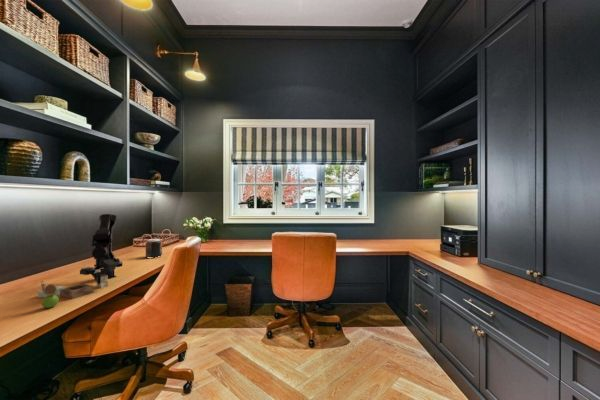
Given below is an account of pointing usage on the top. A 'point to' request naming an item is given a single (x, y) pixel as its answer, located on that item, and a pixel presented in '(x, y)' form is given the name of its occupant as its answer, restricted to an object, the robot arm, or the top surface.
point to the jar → (153, 248)
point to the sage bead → (41, 294)
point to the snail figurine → (49, 295)
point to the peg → (103, 281)
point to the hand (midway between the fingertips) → (102, 282)
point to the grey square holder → (76, 291)
